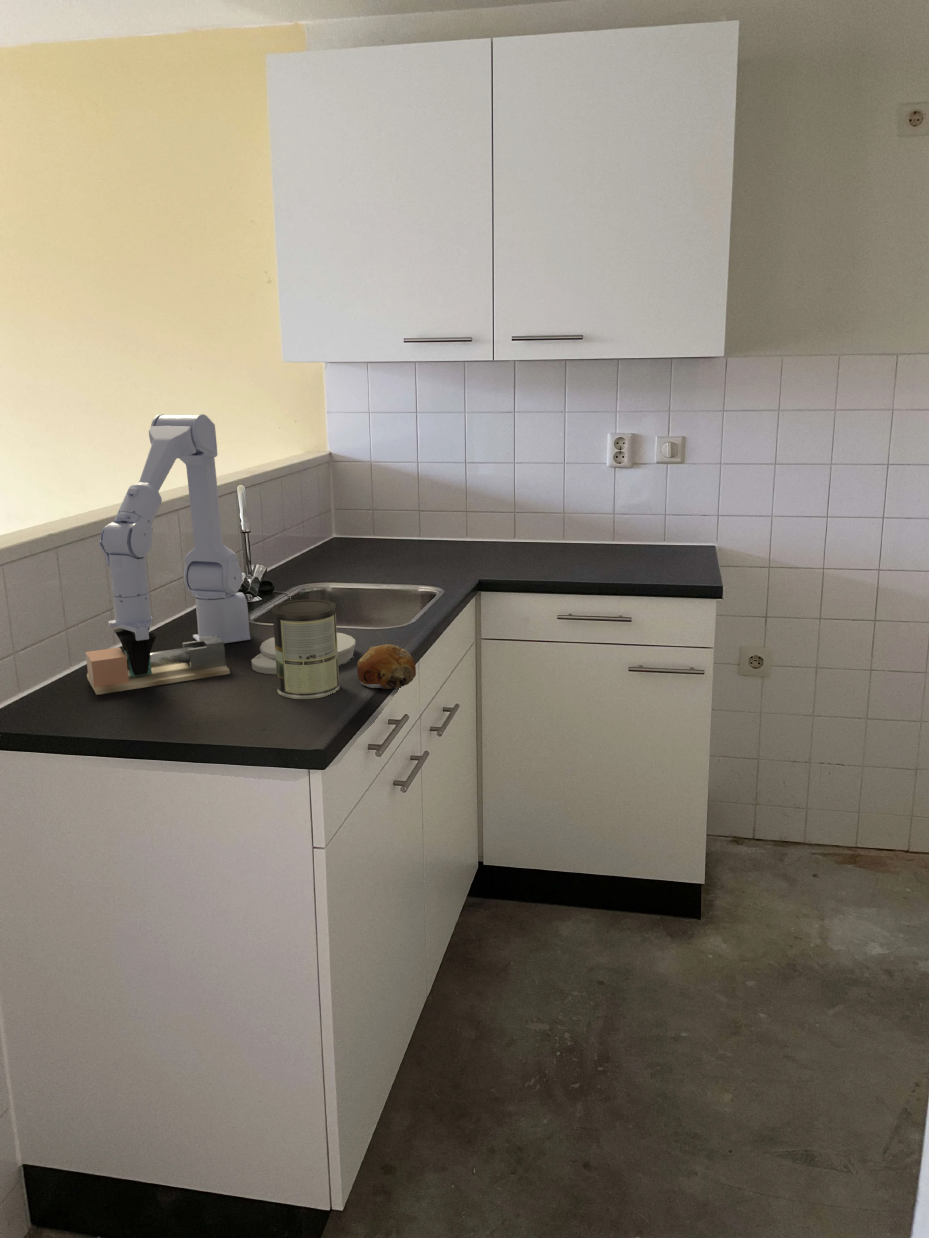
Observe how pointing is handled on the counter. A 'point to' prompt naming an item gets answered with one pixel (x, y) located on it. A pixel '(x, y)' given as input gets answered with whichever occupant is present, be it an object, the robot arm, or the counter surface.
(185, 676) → the board
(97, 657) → the socket
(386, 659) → the bread roll
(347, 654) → the lid
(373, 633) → the counter surface
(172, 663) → the tube
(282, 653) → the coffee can
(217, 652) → the gray notched block
